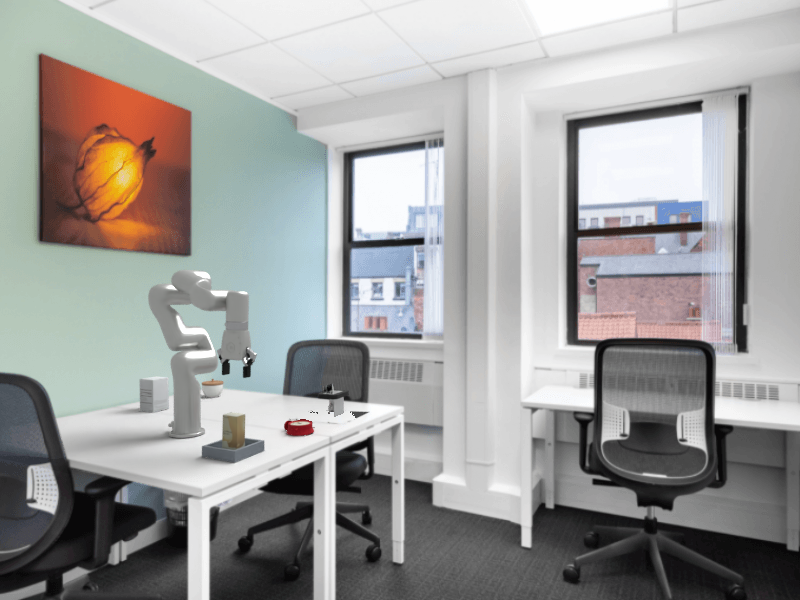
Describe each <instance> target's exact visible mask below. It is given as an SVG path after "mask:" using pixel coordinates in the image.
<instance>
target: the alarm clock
mask: <svg viewBox="0 0 800 600" xmlns="http://www.w3.org/2000/svg"><path fill="white" fill-rule="evenodd" d="M313 424H314V423H313V422H312V421H309V420H306V419H300V420H291V419H288V420H286V421H285V422H284V425H283V428H284V431H286V430H287V431H286V435H288V436H293V437H301V436H302V437H304V435H306V436H308V435H312V434H314V433H315V428H316V427H315V426H314V427H313ZM313 432H314V433H313ZM311 433H312V434H311Z"/></svg>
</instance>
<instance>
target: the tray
mask: <svg viewBox="0 0 800 600" xmlns="http://www.w3.org/2000/svg"><path fill="white" fill-rule="evenodd" d="M264 451H265V439H262V440H261V439H257V438H249V437H245V447H242V448H239V449H237V450H230V449H224V448H222V439H219V440H217V441H214V442H211V443H207V444H205V445H202V446H201V458H205V457H207V458H206V459H211V458H213V459H212V460H217V459H218V460H217V461H223V462H224V461H225V462H229V463H238V462H240V461H242V460H245V459H248V458H251V457H252V456H255V455H258V454H260V453H262V452H264Z"/></svg>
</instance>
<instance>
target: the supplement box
mask: <svg viewBox="0 0 800 600" xmlns="http://www.w3.org/2000/svg"><path fill="white" fill-rule="evenodd" d="M169 392H170V390H169V377H168V376H158V375H156V376H149V377H143V378H139V412H143V411H146V412H145V413H152V412H154V413H158V412H161V410H162V411H166V410H169V409H170V407H169V406H170V402H169V401H170V400H169V399H170V395H169V394H170V393H169ZM165 409H166V410H165ZM157 411H158V412H157Z"/></svg>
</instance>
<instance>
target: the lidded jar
mask: <svg viewBox="0 0 800 600" xmlns="http://www.w3.org/2000/svg"><path fill="white" fill-rule="evenodd" d="M201 389H202V391H201V392H202V393H203V395H204V396H205V397H206V398H207V399H213V398H214V399H215V397H216V398H219V397H220V395H221V394H222V393H223V389H224V380H215V379H214V378H211V380H206V381H205V380H204V381H202V382H201Z"/></svg>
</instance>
